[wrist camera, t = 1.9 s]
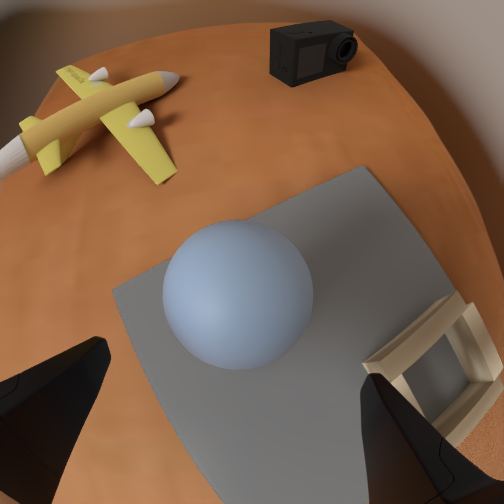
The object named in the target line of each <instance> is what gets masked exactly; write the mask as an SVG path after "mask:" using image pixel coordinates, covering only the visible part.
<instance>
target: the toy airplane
mask: <svg viewBox="0 0 504 504" xmlns="http://www.w3.org/2000/svg"><path fill="white" fill-rule="evenodd" d="M56 73H57V74H58V75H59V76H60V77H61V78H62V79H63V80H64V81H65V82H66V83H67V84H68V85H69V86H70V87H71V89H72V90H73V91H74V92H75V93H76V94H77V95H78V96H79V97H80V98H81V99H82V100H80V101H78V102H76V103H74V104H72V105H70V106H68V107H66V108H64V109H62V110H60V111H59V112H57V113H55V114H53V115H51V116H49V117H48V118H46V119H44V120H41V119H38V118H36V117H33V116H30V117H28V118H26V119H25V120H23V121H22V122H20V123H19V125H20V127H21V128H22V130H23V131H24V132H23V133H21V134H20V135H18V136H17V137H16V138H14V139H13V140H12V141H11V142H10V143H8V144H7V145H6V146H5V147H4V148H3V149H1V150H0V182H1V181H2V180H4V179H6V178H7V177H9V176H11V175H12V174H14V173H16V172H17V171H19V170H21V169H23V168H24V167H26V166H28V165H30V164H31V163H33V162H34V161H36V160H37V159H38V160H39V162H40V164H41V166H42V169H43V171H44V174H45V175H48V174H50V173H51V172H53V171H55V170H56V169H58V168H59V167H60V166H61V165H62V164H63V163H64V162H65V161H66V159H67V157H68V155H69V154H70V152H71V150H72V148H73V147H74V145H75V143H76V142H77V140H78V139H79V137H80V135H81V134H82V132H84V131H86V130H87V129H89V128H91V127H93V126H95V125H97V124H99V123H101V122H103V123H104V124H105V126H106V127H107V128H108V129H109V130H110V131H111V133H112V134H113V135H114V136H115V137H116V138H117V140H118V141H119V142H120V143H121V144H122V145H123V147H124V148H125V149H126V150H127V151H128V152H129V154H130V155H131V156H132V157H133V158H134V159H135V160H136V162H137V163H138V164H139V165H140V166H141V167H142V168H143V170H144V171H145V172H146V173H147V174H148V175H149V176H150V177H151V179H152V180H153V181H154V182H155V183H156V184H157V185H159V184H160V183H162V182H164V181H165V180H167V179H168V178H170V177H171V176H173V175H174V174H175V173H176V172H177V169H176V167H175V166H174V164H173V163H172V161H171V159H170V158H169V156H168V155H167V153H166V151H165V150H164V148H163V147H162V145H161V143H160V142H159V140H158V139H157V137H156V135H155V134H154V132H153V131H152V129H151V127H150V126H151V125H154V123H155V120H154V116H153V114H152V113H151V112H150V111H149V110H148V109H145V110H143V111H142V112H141V111H140V110H139V108H138V105H140V104H143V103H145V102H148V101H150V100H153V99H155V98H158V97H160V96H162V95H163V94H165V93H166V92H167V91H169V90H170V89H171V88H172V87H174V86H175V85H176V83H177V82H178V81H179V78H180V77H179V75H178V74H176V73H173V72H163V71H156V72H151V73H148V74H145V75H142V76H139V77H136V78H133V79H131V80H128V81H125V82H122V83H120V84H117V85H115V86H113V85H111V84H109V83H107V82H105V81H103V80H106V79H108V72H107V70H106V69H105V68H104V67H102V68H100V69H99V70H97V71H96V72H95V73H93V74H92V75H91V74H89V73H87V72H85V71H83V70H81V69H79V68H77V67H74V66H72V65H69V66H66V67H64V68H62V69H60V70H58V71H56Z"/></svg>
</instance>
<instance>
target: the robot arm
mask: <svg viewBox="0 0 504 504" xmlns="http://www.w3.org/2000/svg"><path fill="white" fill-rule="evenodd" d="M110 361H111V354H110V350H109V347H108V344H107V341H106V339H104V338H102V337H98V336H94V337H92V338H90V339H88V340H86V341H84V342H82V343H80V344H78V345H76V346H74V347H72V348H70V349H68V350H66V351H64V352H62V353H60V354H58V355H56V356H54V357H52V358H50V359H48V360H46V361H44V362H42V363H40V364H37V365H35V366H33V367H31V368H29V369H27V370H25V371H23V372H21V373H19V374H17V375H15V376H13V377H11V378H9V379H6V380H4V381H2V382H0V504H52V501H53V498H54V496H55V493H56V490H57V488H58V485H59V482H60V479H61V477H62V474H63V472H64V469H65V467H66V464H67V462H68V459H69V457H70V455H71V452H72V450H73V448H74V445H75V443H76V441H77V439H78V436H79V434H80V432H81V430H82V427H83V425H84V423H85V421H86V419H87V417H88V415H89V412H90V410H91V408H92V406H93V404H94V402H95V400H96V398H97V396H98V393H99V391H100V388H101V385H102V383H103V380H104V377H105V374H106V372H107V369H108V367H109V364H110ZM360 408H361V433H362V441H363V449H364V456H365V465H366V473H367V483H368V494H369V504H504V481H500V480H496V479H493V478H491V477H490V476H488V475H487V474H485V473H484V472H483V471H482V470H480V469H479V468H478V467H477V466H475V465H474V464H473V463H472V462H470V461H469V460H468V459H467V458H466V457H464V456H463V455H462V454H461V453H460V452H459V451H458V450H457V449H455V448H454V447H453V446H452V445H451V444H450V443H449V442H448V441H447V440H446V439H445V438H444V437H443V436H442V435H441V434H440V433H439V432H438V431H437V430H436V429H435V428H434V427H433V426H432V425H431V423H430V422H429V421H428V420H427V419H426V418H425V417H424V416H423V415H422V414H421V413H420V412H419V411H418V410H417V409H416V408H415V407H414V406H413V405H412V404H411V403H410V402H409V401H408V400H407V399H406V398H405V397H404V396H403V395H402V394H401V393H400V392H399V391H398V390H397V389H396V388H395V387H394V386H393V385H392V384H391V383H390V382H389V381H388V380H387V379H386V378H385V377H384V376H383V375H382V374H381V373H369V374H368V375H367V377H366V379H365V381H364V383H363V385H362V388H361V390H360Z"/></svg>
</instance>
